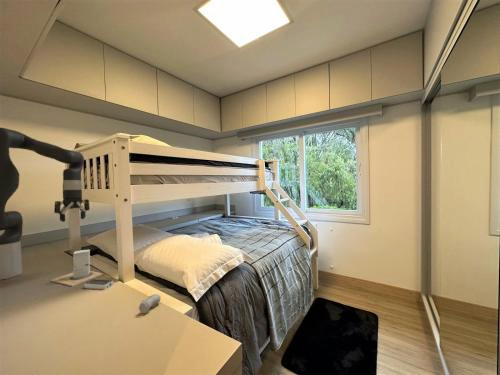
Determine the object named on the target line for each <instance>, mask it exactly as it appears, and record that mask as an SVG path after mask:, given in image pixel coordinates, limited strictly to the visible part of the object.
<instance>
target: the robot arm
mask: <svg viewBox="0 0 500 375" xmlns="http://www.w3.org/2000/svg"><path fill="white" fill-rule="evenodd" d="M10 149H20V150H27V151H31V152H33V153H36V154H37V155H40V156H42V157H45V158H49V159H51V160H52V159H53V160H55V161H57V162H60V163H63V164H66V165H67V164H68V165H69V166H68V168H65V169H63V171H62V199H63V200H62V201H61V200H57V201H56V200H55V201H54V210H53V211H54V214H58V215H59V221H60V222H62V223H65V222H66V214H65V213H67V211H68V210H72V209H73V210H74V209H78V210H79V211H80V219H81V220H84V219H85V218H86V216H87V215H86V212H87V211H89V210H90V200H89V199H85V198H84V199H82V198H83V184H82V180H81V179H82V170H83V168H84V162H85V158H84V155H83V153H81V152H79V151H75V150H69V149H66V148H62V147H60V146H58V145H56V144H52V143H48V142H46V141H45V142H44V141H40V140H38V139H35V138H32V137H31V136H28V135H26V134H24V133H22V132H21V131H18V130H14V129H10V128H5V127H0V232H1V231H3V233H1V235H0V280H5V279H6V280H7V279H10V278H14V277H17V276H19V275H21V274H23V269H22V267H23V265H22V246H21V245H22V244H21V242H22V241H21V239H22V238H21V237H22V235H23V225H24V224H23V216H22V214H21V213H20V212H19V211H17V210H7V211H5V210H6V205H7V203H8V201H9V199H11V197H13V195H14V194H15V192H16V191H17V190H18V189H19V186H20V173H19V170H18V169H17V167H16V165H15V164H14V163H13V161H12V159H11V156H10ZM82 204H83V205H82ZM62 205H63V207H61V206H62Z"/></svg>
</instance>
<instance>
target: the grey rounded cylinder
mask: <svg viewBox="0 0 500 375" xmlns="http://www.w3.org/2000/svg"><path fill="white" fill-rule="evenodd" d="M159 302H161V295H160V294H158V293H154V294H151V295H150V296H148V297H147V298H146V299H145V300H141V302H140V304H139V306H138V310H139V312H140V313H141V314H148V313H149V312H150V309H151V308H154V307H156V306H157V304H159Z"/></svg>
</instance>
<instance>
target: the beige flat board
mask: <svg viewBox="0 0 500 375" xmlns="http://www.w3.org/2000/svg"><path fill="white" fill-rule="evenodd" d="M103 274H104V273H102V272H99V271H98V272H96V271H93V270H90V273H89V275H88V276H84V277H79V278H73V272H70V273H67V274H64V275H60V276H59V277H56V278H52V279H51V280H50V282H53V283H56V284H59V285H65V286H69V287H76V286H78V285H80V284H83V283H86V282H89V281H91V280H93V279H95V278H97V277H100V276H103Z"/></svg>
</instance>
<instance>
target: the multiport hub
mask: <svg viewBox="0 0 500 375" xmlns="http://www.w3.org/2000/svg"><path fill="white" fill-rule="evenodd" d="M113 286H114V280H111V279H110V280H108V279H95V278H93V279H90V280H88V281H86V282H84V289H91V290H102V289H103V290H105V291H106V290H107V289H109V288H110V287H113Z"/></svg>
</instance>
